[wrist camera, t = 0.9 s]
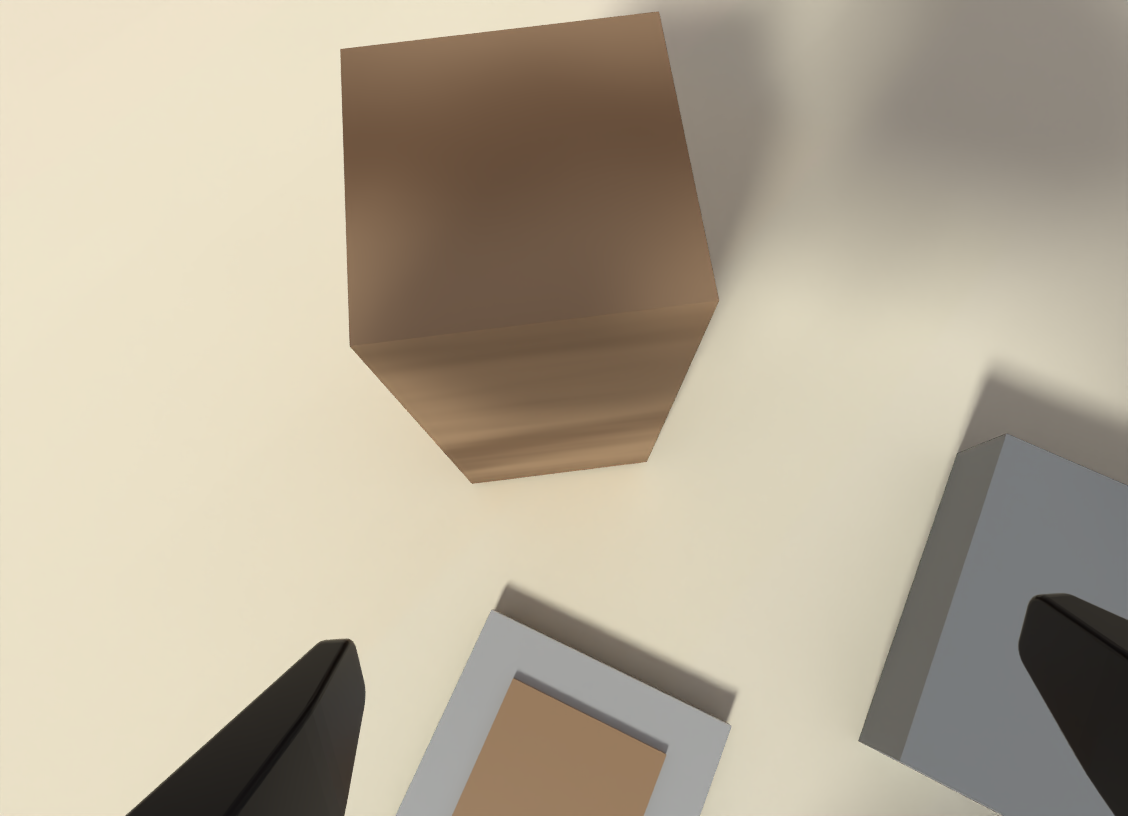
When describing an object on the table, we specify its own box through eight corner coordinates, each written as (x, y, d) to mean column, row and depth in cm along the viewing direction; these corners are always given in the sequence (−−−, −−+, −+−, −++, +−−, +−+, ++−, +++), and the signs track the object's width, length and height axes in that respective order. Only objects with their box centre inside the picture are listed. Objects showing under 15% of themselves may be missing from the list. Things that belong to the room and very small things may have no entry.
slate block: (1190, 912, 19) (1298, 967, 16) (854, 739, 21) (899, 760, 18) (1257, 589, 22) (1361, 586, 19) (953, 454, 23) (1006, 433, 20)
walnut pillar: (646, 461, 23) (719, 301, 11) (472, 483, 23) (350, 345, 11) (620, 302, 24) (658, 11, 12) (458, 322, 24) (340, 49, 12)
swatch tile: (625, 1012, 18) (626, 1027, 18) (372, 869, 19) (364, 879, 19) (728, 723, 20) (733, 727, 20) (493, 609, 21) (490, 609, 21)
